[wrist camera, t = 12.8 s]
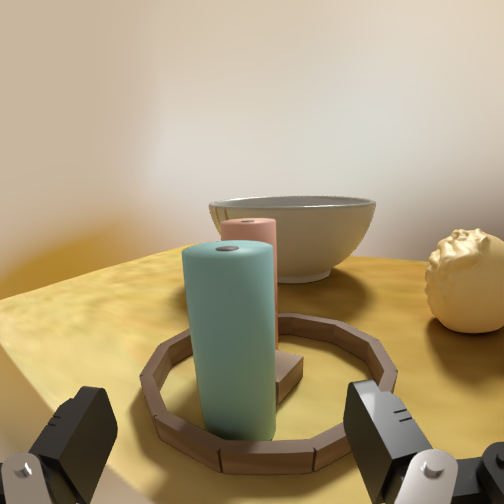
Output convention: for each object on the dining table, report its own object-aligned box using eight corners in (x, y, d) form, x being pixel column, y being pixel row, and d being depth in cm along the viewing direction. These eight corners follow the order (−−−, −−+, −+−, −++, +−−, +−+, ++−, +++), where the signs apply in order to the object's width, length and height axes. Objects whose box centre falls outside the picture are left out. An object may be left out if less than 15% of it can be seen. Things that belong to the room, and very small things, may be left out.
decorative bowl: (180, 287, 48) (173, 208, 46) (256, 250, 72) (254, 195, 69) (361, 311, 36) (366, 209, 34) (379, 259, 60) (380, 197, 57)
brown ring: (239, 317, 37) (238, 301, 36) (406, 350, 27) (410, 331, 26) (101, 397, 21) (94, 377, 21) (336, 518, 11) (342, 499, 11)
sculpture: (421, 300, 38) (428, 218, 36) (501, 308, 32) (513, 226, 29) (416, 339, 28) (429, 232, 26) (519, 349, 22) (541, 242, 20)
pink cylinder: (246, 335, 32) (240, 217, 30) (286, 344, 30) (285, 218, 27) (219, 354, 29) (208, 223, 26) (261, 367, 26) (256, 226, 24)
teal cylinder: (232, 399, 22) (219, 237, 19) (287, 419, 20) (288, 243, 17) (191, 434, 18) (162, 253, 16) (250, 462, 16) (238, 263, 13)
